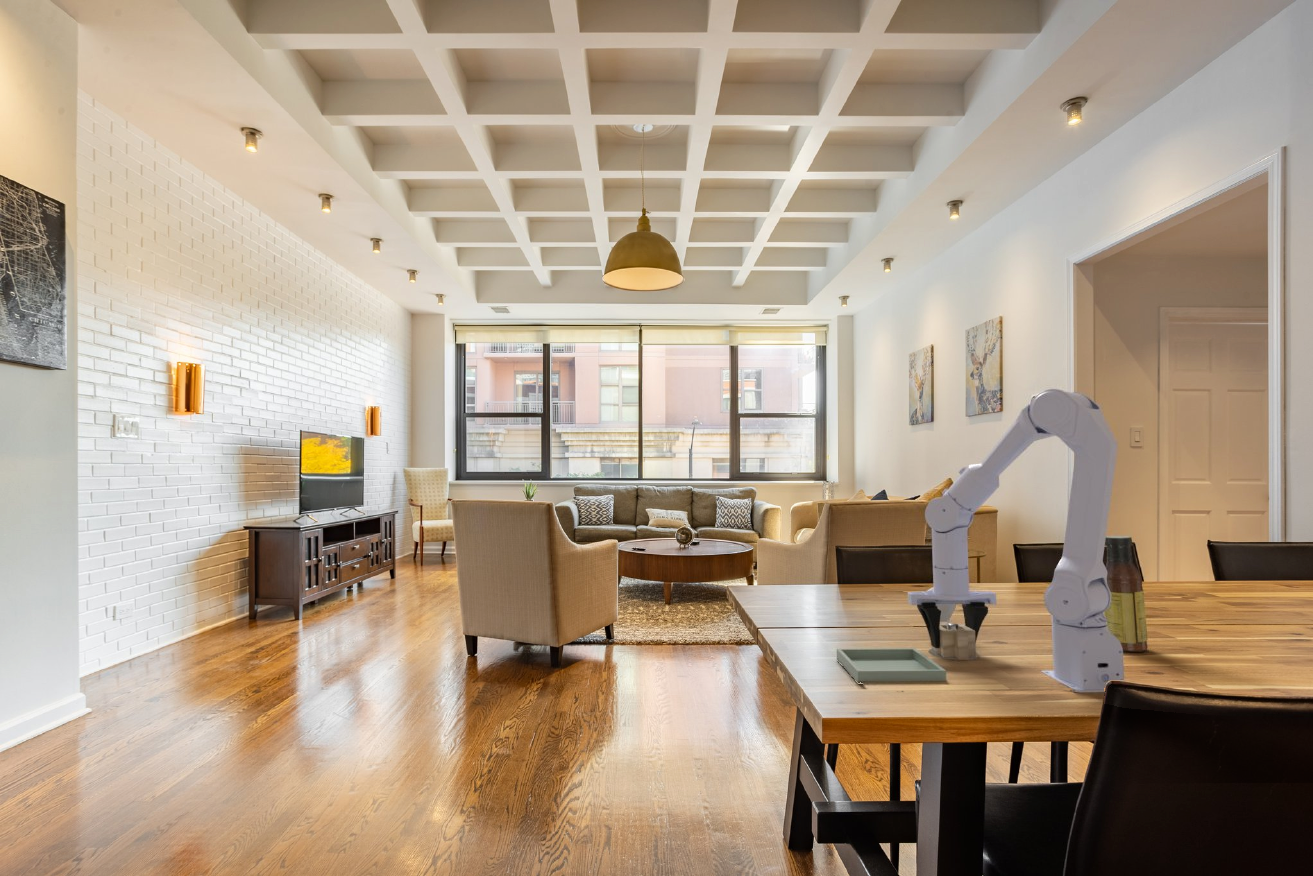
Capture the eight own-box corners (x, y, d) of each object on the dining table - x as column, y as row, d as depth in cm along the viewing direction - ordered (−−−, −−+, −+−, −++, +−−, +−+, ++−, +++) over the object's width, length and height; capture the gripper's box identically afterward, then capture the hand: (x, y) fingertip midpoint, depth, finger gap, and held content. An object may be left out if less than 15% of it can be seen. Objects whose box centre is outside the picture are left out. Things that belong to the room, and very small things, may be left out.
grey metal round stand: (987, 662, 115) (986, 628, 115) (939, 662, 115) (938, 629, 116) (966, 649, 123) (965, 618, 123) (921, 650, 123) (920, 619, 124)
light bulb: (952, 646, 126) (950, 590, 127) (919, 641, 130) (917, 587, 130) (960, 639, 131) (958, 586, 131) (928, 635, 134) (926, 583, 135)
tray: (946, 684, 104) (946, 670, 104) (858, 684, 104) (857, 671, 104) (915, 660, 117) (914, 648, 117) (836, 660, 117) (836, 648, 117)
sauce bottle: (1135, 644, 125) (1130, 534, 126) (1156, 653, 119) (1150, 537, 120) (1096, 644, 126) (1092, 534, 127) (1116, 653, 120) (1111, 538, 121)
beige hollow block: (980, 659, 115) (979, 632, 115) (947, 659, 115) (946, 633, 115) (958, 646, 123) (958, 621, 124) (928, 647, 123) (927, 622, 124)
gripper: (982, 563, 124) (984, 640, 123) (900, 564, 124) (903, 641, 123) (1001, 569, 117) (1004, 650, 116) (914, 570, 117) (917, 651, 116)
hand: (953, 646), depth 119 cm, fingers closed on beige hollow block, 5 cm apart
